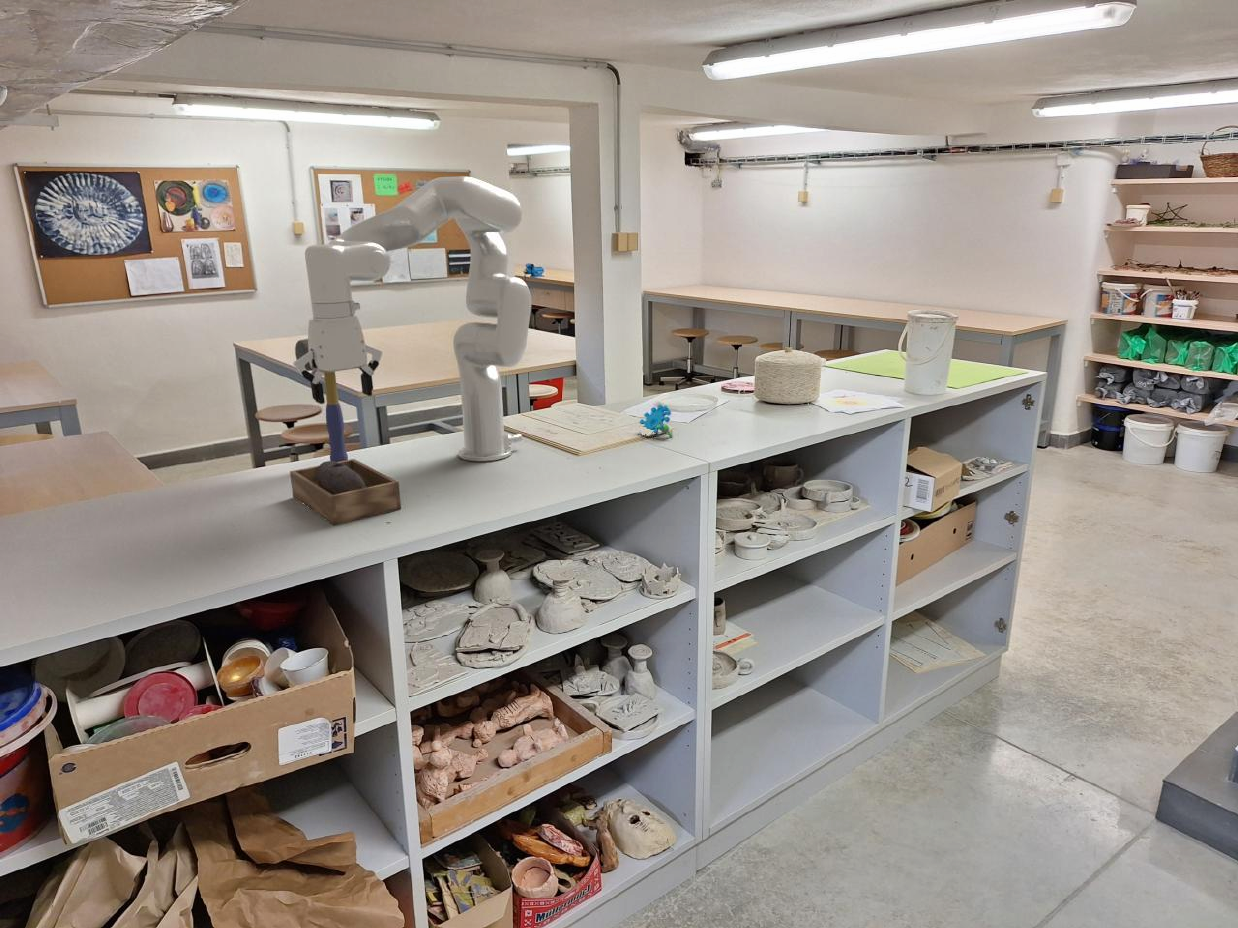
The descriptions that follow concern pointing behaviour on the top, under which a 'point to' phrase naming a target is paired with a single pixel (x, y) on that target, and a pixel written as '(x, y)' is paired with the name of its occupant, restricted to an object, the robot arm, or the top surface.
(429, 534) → the top surface
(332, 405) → the rubber mallet
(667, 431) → the blue bumpy cluster
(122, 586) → the top surface
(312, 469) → the box
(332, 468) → the perforated stone tool
